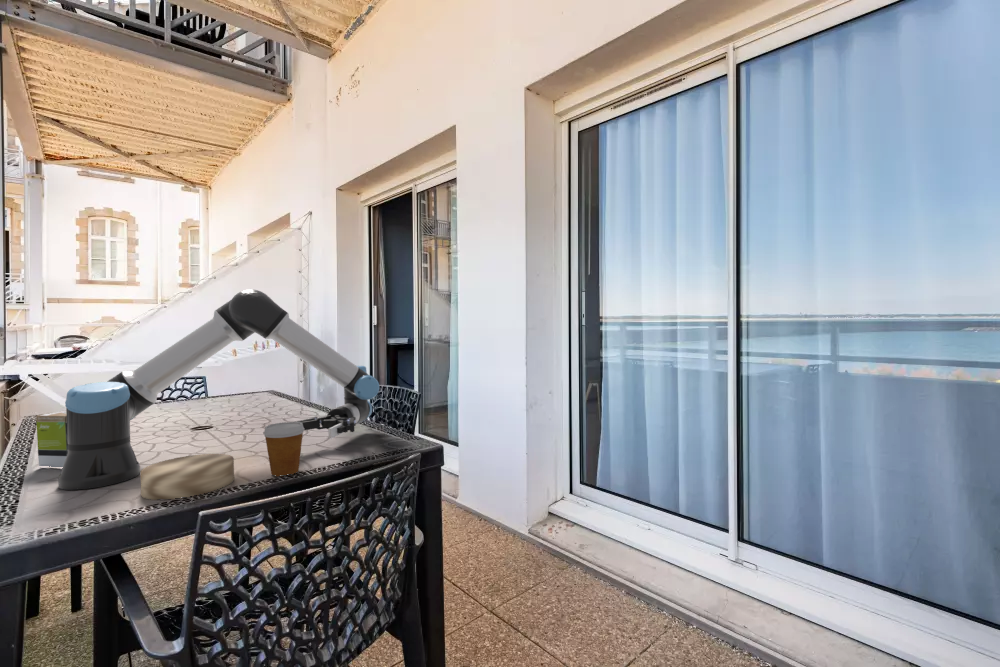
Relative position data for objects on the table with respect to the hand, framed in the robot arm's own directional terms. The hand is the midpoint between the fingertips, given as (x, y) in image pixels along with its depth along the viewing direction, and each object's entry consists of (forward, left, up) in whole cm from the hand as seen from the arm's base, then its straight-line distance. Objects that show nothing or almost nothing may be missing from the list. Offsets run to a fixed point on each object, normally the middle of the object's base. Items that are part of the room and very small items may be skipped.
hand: (306, 433), depth 126 cm
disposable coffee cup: (0, -10, -8) cm, 13 cm away
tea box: (-65, -5, -8) cm, 66 cm away
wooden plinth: (-17, -21, -8) cm, 28 cm away
